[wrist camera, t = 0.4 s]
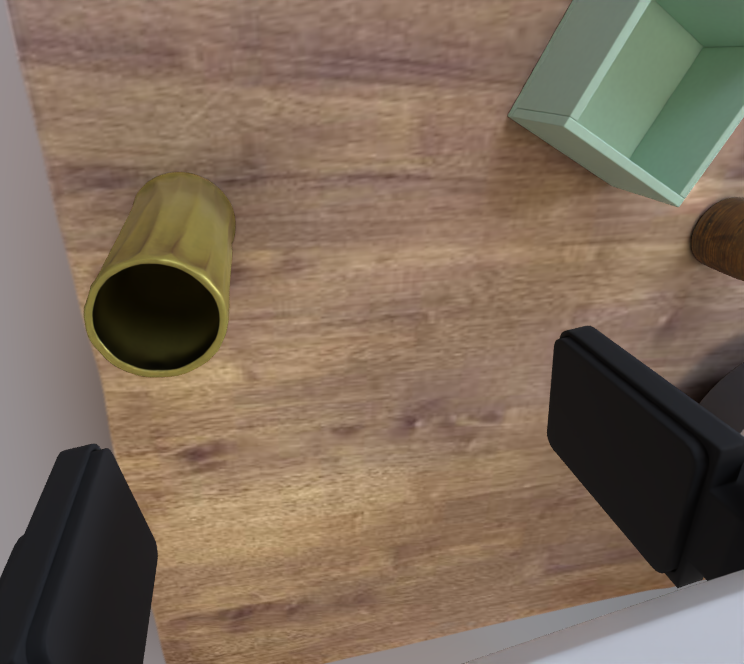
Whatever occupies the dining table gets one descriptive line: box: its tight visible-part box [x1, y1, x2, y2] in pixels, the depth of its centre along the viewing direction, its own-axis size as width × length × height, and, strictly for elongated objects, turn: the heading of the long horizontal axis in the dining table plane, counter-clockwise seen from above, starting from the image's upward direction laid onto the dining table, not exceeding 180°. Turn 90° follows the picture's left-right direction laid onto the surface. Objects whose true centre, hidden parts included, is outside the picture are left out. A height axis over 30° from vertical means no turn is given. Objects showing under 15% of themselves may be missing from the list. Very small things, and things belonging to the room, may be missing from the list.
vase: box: [84, 172, 235, 377], centre depth 26 cm, size 6×6×14 cm
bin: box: [508, 0, 744, 207], centre depth 31 cm, size 11×11×7 cm
